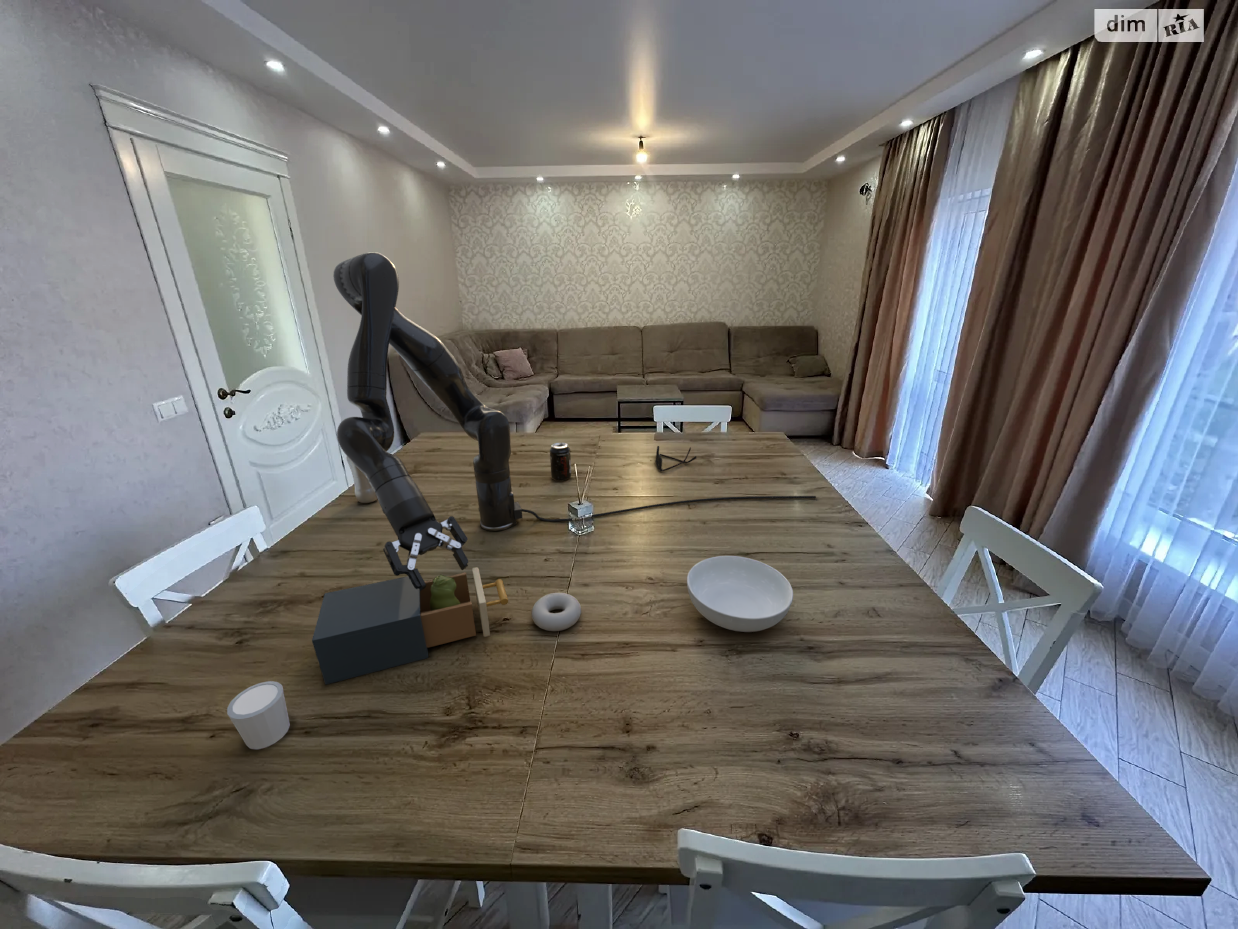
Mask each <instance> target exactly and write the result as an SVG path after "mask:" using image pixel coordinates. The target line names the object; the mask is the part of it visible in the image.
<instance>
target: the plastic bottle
mask: <svg viewBox="0 0 1238 929" xmlns="http://www.w3.org/2000/svg"><path fill="white" fill-rule="evenodd" d="M345 456H346V455H345ZM345 459H346V461H347V464H348V466H349V469H350V472H351V475H352V478H353V484H354V485H353V486H354V497H355V499H356V501H358V502H359V503H361V504H368V503H373V502H375V501H378V498H377V496H376V494H375V492H374V490H373V488H372V486H371V485H370V483H369V481H368V479H367V477H366V476H365V474H364V473H363V472H361V471H360V470H359V469H358V468H357V467H356V465H355V464H354V463H353V462H352V461H351V460H350V459H349V458H348V457H347V456H346V457H345Z"/></svg>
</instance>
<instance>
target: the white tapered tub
mask: <svg viewBox="0 0 1238 929" xmlns="http://www.w3.org/2000/svg"><path fill="white" fill-rule="evenodd" d="M226 713H227V716H228V717H229V720H230V721H231V723H232V724H233V726H234V728H235V729H236V731H237V732H238V734H239V736H240V737H241V739H242V740H243V742H244V744H245V746H247V747H248V748H249V749H251V750H261V749H267V748H268V747H270V746H272V745H274V744H276V743H277V742H278V741H280V740H281V739H283V738H284V736H286V734H287V733H288V732H289V730H290V727H291V724H290V718H289V713H288V708H287V703H286V698H285V693H284V688H283V684H281V683H280V682H278V681H273V680H268V681H263V682H258V683H256V684H254V685H251V686H249V687H247V688H245V689H244V690H242V691H241V692H239V693H238V694H237V695H236V696H235V697H234V698H233V699H231V701H230V702H229V704H228V706H227V708H226Z"/></svg>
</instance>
